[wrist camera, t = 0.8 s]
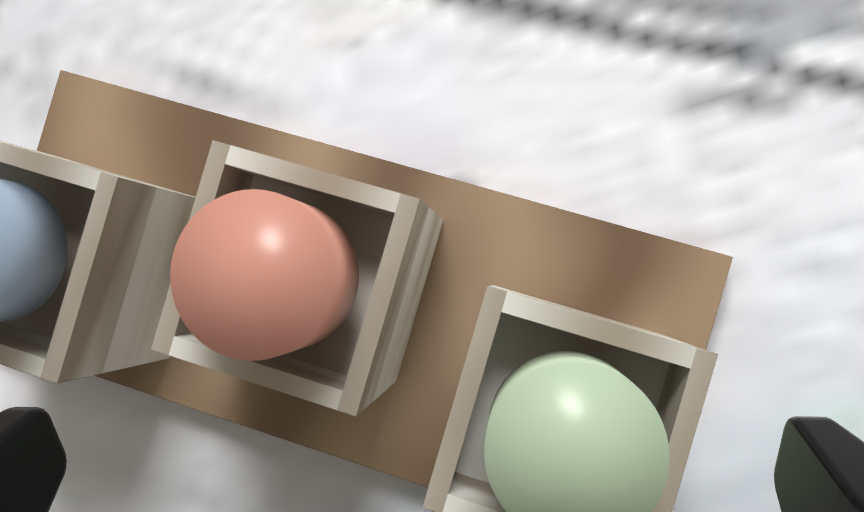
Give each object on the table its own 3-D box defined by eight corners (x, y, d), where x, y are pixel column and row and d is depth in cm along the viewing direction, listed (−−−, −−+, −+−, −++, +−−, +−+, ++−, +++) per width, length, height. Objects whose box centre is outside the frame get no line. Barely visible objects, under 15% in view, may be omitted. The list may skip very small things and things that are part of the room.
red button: (197, 325, 18) (149, 331, 16) (239, 184, 18) (197, 169, 16) (334, 369, 18) (306, 382, 15) (377, 224, 18) (356, 215, 15)
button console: (1, 335, 26) (-186, 355, 19) (78, 78, 26) (-82, 3, 19) (638, 548, 23) (693, 663, 16) (723, 258, 23) (814, 247, 16)
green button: (469, 479, 17) (462, 512, 15) (512, 331, 17) (512, 339, 15) (621, 530, 17) (639, 571, 14) (665, 377, 17) (691, 393, 14)
